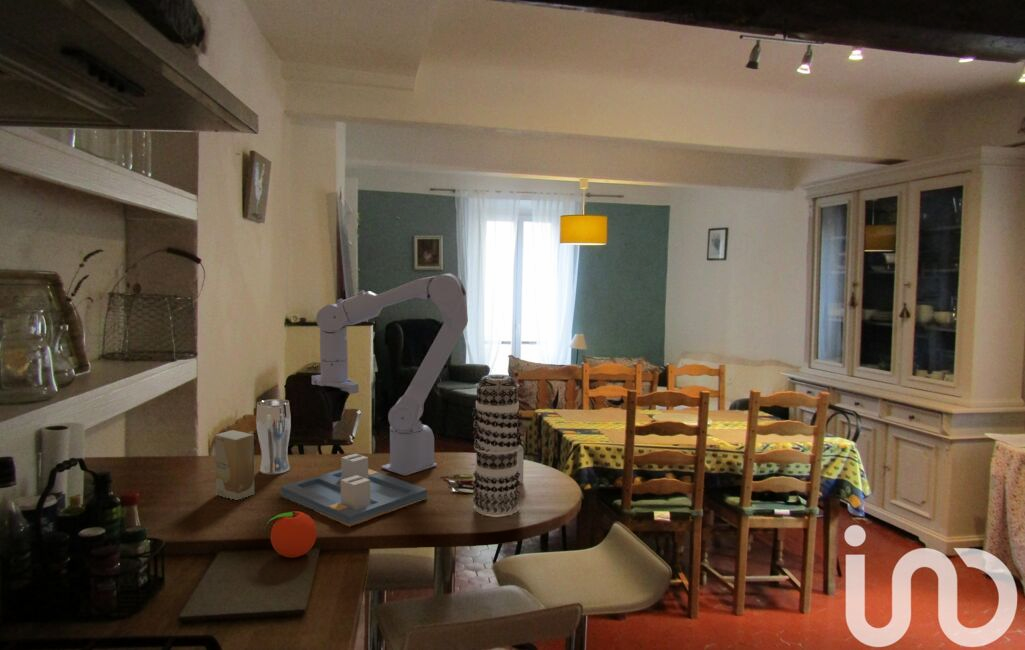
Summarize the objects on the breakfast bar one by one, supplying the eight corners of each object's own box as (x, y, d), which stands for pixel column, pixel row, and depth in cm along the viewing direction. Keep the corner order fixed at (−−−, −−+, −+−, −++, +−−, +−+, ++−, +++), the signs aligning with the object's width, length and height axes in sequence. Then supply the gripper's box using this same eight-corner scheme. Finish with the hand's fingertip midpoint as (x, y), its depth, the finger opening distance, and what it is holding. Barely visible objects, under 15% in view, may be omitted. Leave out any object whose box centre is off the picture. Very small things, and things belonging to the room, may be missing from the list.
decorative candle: (463, 513, 124) (463, 379, 121) (483, 496, 133) (484, 370, 130) (509, 521, 121) (511, 383, 118) (527, 503, 129) (529, 374, 126)
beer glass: (279, 463, 152) (277, 397, 150) (298, 469, 147) (296, 401, 146) (251, 471, 146) (249, 402, 144) (270, 477, 142) (268, 407, 140)
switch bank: (357, 473, 145) (357, 464, 145) (427, 499, 131) (427, 488, 131) (281, 496, 131) (280, 485, 131) (349, 527, 117) (349, 515, 117)
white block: (356, 476, 140) (355, 452, 139) (368, 480, 137) (368, 457, 137) (341, 480, 137) (341, 456, 137) (353, 485, 135) (353, 461, 134)
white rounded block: (523, 487, 138) (524, 430, 137) (495, 487, 138) (496, 429, 137) (523, 480, 142) (523, 424, 141) (496, 479, 142) (496, 424, 141)
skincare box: (215, 495, 131) (212, 434, 130) (233, 489, 135) (231, 429, 134) (238, 502, 128) (236, 439, 127) (256, 494, 132) (254, 433, 131)
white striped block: (357, 499, 127) (356, 474, 126) (370, 505, 124) (370, 479, 124) (340, 505, 124) (340, 479, 123) (354, 510, 121) (353, 484, 121)
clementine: (260, 567, 102) (258, 522, 102) (268, 547, 109) (267, 505, 108) (314, 564, 104) (313, 519, 103) (319, 544, 111) (318, 502, 110)
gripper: (298, 357, 148) (300, 418, 150) (338, 365, 139) (339, 430, 140) (326, 354, 153) (327, 413, 155) (366, 361, 144) (367, 424, 146)
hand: (335, 421), depth 148 cm, fingers closed
